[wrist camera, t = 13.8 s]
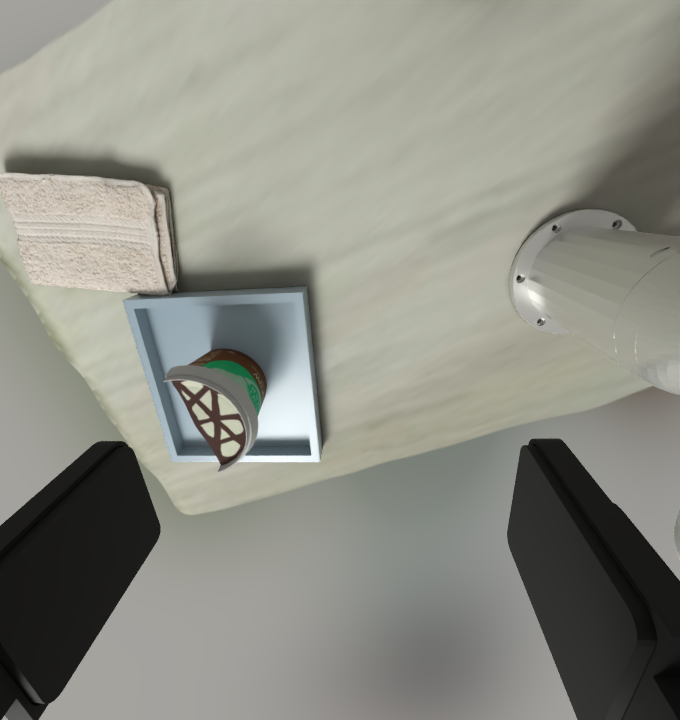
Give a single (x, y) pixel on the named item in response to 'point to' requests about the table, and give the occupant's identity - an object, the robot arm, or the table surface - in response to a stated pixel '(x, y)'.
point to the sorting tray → (244, 334)
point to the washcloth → (93, 232)
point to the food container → (223, 400)
